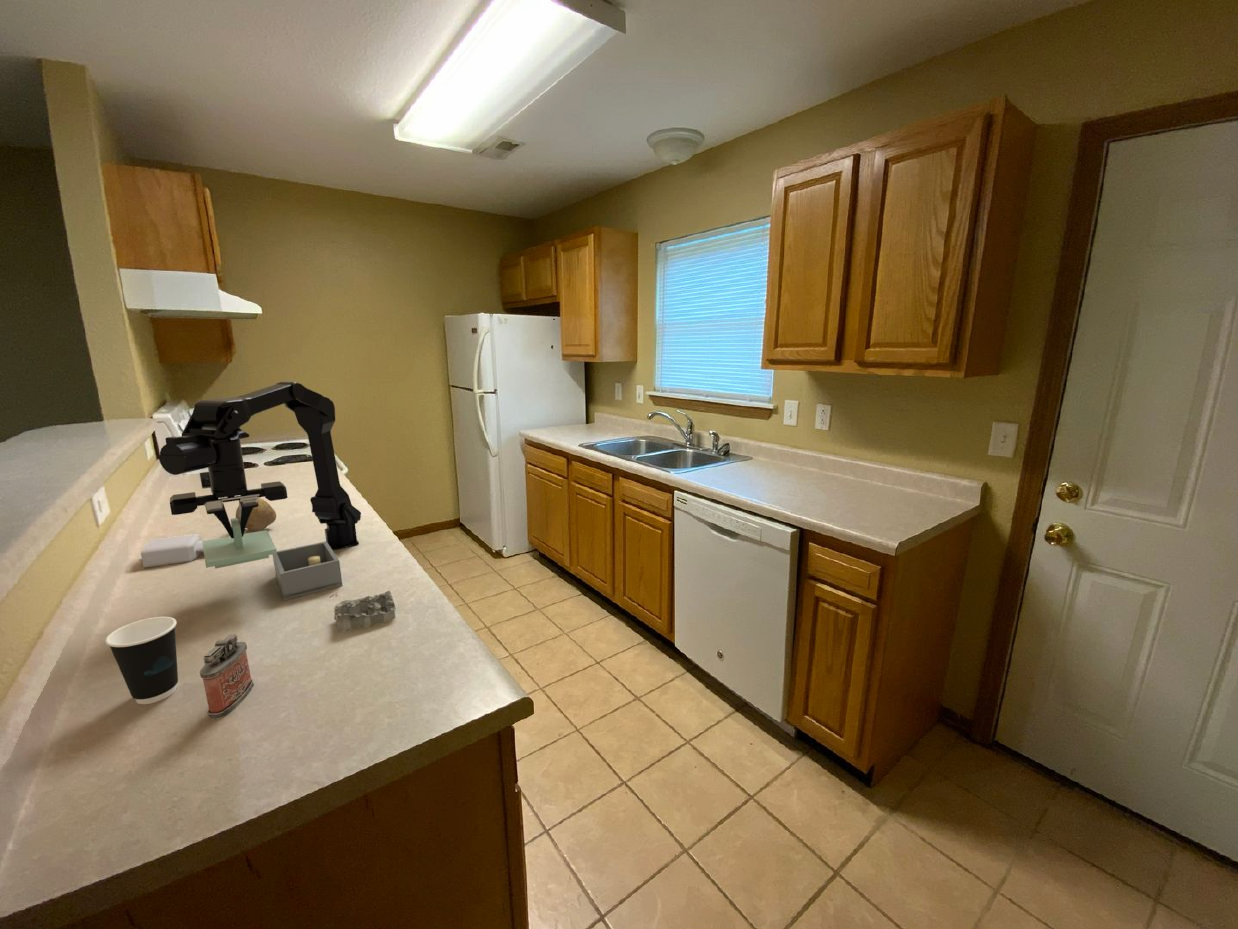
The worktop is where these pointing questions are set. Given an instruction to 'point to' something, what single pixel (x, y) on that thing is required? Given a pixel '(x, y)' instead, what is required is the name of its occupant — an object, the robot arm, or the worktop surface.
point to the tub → (307, 570)
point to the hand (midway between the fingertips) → (237, 537)
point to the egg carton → (351, 610)
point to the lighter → (226, 676)
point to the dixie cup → (147, 657)
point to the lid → (238, 547)
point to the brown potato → (260, 516)
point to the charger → (172, 550)
